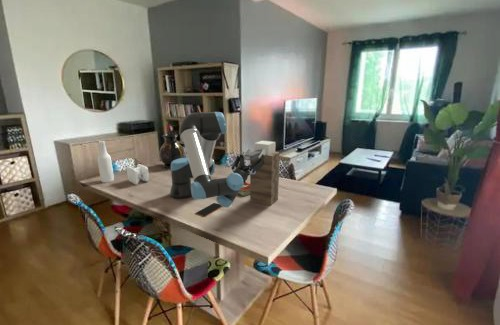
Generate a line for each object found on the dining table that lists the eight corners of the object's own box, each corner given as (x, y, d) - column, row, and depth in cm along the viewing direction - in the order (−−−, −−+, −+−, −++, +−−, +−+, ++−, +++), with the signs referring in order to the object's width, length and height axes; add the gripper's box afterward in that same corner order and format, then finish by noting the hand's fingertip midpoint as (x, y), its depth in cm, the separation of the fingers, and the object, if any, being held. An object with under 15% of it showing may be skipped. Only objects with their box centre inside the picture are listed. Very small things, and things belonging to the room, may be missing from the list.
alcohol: (100, 180, 197) (93, 141, 189) (112, 178, 202) (107, 139, 194) (102, 183, 191) (95, 142, 183) (115, 181, 196) (109, 141, 188)
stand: (270, 205, 154) (272, 156, 146) (250, 200, 161) (250, 153, 153) (278, 199, 163) (279, 152, 155) (258, 195, 170) (258, 149, 161)
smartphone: (194, 214, 144) (194, 213, 144) (214, 203, 158) (214, 202, 158) (204, 218, 140) (204, 216, 140) (224, 206, 154) (224, 205, 154)
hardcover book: (239, 184, 191) (239, 178, 190) (258, 192, 175) (258, 186, 174) (225, 187, 184) (225, 182, 182) (243, 197, 168) (243, 190, 167)
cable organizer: (127, 180, 196) (125, 166, 193) (141, 177, 204) (139, 163, 201) (136, 185, 187) (134, 170, 183) (150, 182, 194) (148, 166, 191)
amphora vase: (188, 167, 231) (186, 135, 223) (163, 171, 220) (160, 137, 212) (181, 161, 248) (178, 132, 241) (157, 165, 237) (154, 134, 230)
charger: (254, 161, 135) (254, 150, 133) (239, 159, 139) (239, 148, 138) (275, 152, 155) (275, 142, 154) (261, 150, 160) (261, 140, 158)
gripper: (222, 181, 139) (241, 152, 152) (258, 188, 129) (276, 157, 142) (217, 171, 134) (238, 142, 147) (254, 178, 124) (273, 147, 137)
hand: (256, 150), depth 145 cm, fingers open, 9 cm apart
